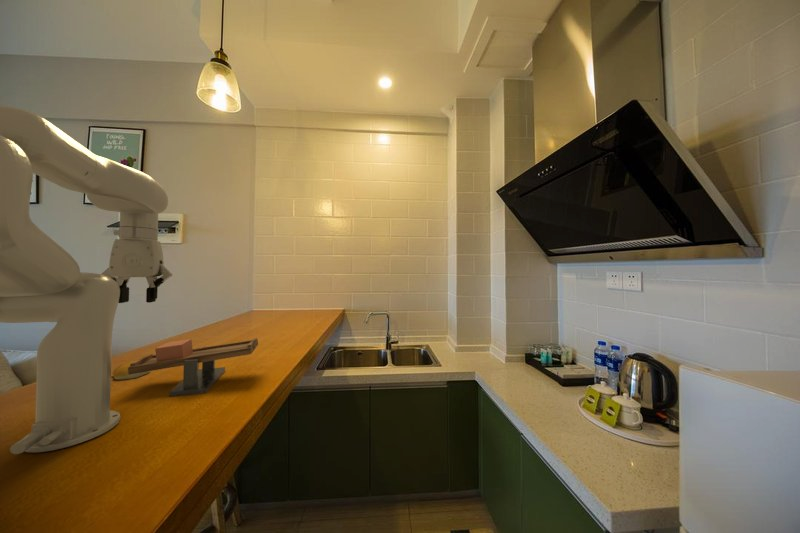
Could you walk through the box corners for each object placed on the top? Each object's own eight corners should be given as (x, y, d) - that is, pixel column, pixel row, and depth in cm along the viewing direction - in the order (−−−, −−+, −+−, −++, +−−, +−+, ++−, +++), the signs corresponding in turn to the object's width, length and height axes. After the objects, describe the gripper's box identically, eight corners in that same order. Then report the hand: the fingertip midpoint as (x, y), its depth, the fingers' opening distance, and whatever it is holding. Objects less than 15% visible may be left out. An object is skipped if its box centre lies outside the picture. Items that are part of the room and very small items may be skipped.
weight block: (183, 359, 75) (182, 344, 74) (156, 363, 73) (155, 348, 73) (192, 352, 80) (191, 339, 80) (168, 356, 78) (166, 342, 78)
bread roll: (115, 383, 77) (115, 369, 77) (111, 375, 83) (111, 362, 83) (153, 374, 84) (154, 361, 84) (148, 367, 89) (148, 355, 89)
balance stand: (205, 392, 72) (206, 360, 72) (169, 396, 69) (169, 363, 69) (224, 371, 87) (225, 344, 87) (195, 373, 85) (196, 346, 85)
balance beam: (251, 357, 77) (249, 346, 77) (127, 378, 69) (126, 365, 69) (258, 346, 88) (257, 336, 88) (152, 363, 79) (151, 352, 79)
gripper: (87, 232, 68) (85, 304, 68) (170, 235, 73) (168, 303, 73) (109, 235, 75) (107, 301, 75) (183, 238, 80) (181, 300, 80)
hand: (137, 301), depth 74 cm, fingers open, 5 cm apart
